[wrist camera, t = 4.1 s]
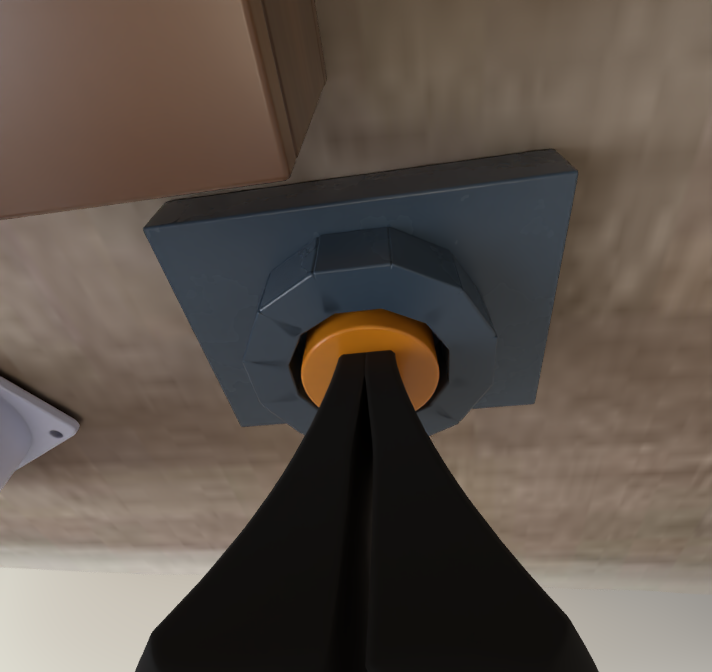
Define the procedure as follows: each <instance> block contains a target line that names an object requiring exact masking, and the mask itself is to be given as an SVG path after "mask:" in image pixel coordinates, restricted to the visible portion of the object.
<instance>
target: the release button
mask: <svg viewBox="0 0 712 672" xmlns="http://www.w3.org/2000/svg"><path fill="white" fill-rule="evenodd" d="M385 350H391V351H393V352H394V353H395V356H396V362H397V366H398V370H399V373H400V376H401V379H402V381H403V384H404V387H405V389H406V392H407V394H408V396H409V398H410V401H411V403H412V405H413V407H414V409H415V411H416V410H418V409H419V408H421V407H422V406H423V405H424V404H425V403H426V402H427V401H428V400H429V399H430V398H431V396H432V395H433V393H434V392H435V389H436V387H437V385H438V381H439V373H440V372H439V364H438V359H437V353H436V348H435V343H434V338H433V332H432V330H431V329H430V328H429V327H428V325H427V324H426V323H423V322H420V321H417V320H414V319H411V318H408V317H405V316H402V315H399V314H396V313H393V312H390V311H388V310H385V309H375V310H365V311H356V312H346V313H337V314H334V315H332V316H331V317H329V318H327V319H326V320H324V321H323V322H321V323H319V324H318V325H316V326H315V327H313V328H312V329H310V330H308V331H307V336H306V342H305V349H304V355H303V361H302V367H301V380H302V384H303V386H304V389H305V391H306V393H307V395H308V396H309V398H310V399H311V400H312V401H313V402H314V403H315V404H316V405H317V406H318V407H320V404H321V402H322V400H323V398H324V396H325V393H326V391H327V389H328V386H329V384H330V381H331V379H332V376H333V374H334V371H335V368H336V365H337V362H338V358H339V357H340V356H341V355H343V354H353V353H364V352H374V351H385Z"/></svg>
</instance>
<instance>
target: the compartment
mask: <svg viewBox="0 0 712 672" xmlns="http://www.w3.org/2000/svg"><path fill="white" fill-rule="evenodd" d="M261 4H262V8H263V13H264V17H265V22H266V26H267V31H268V35H269V40H270V44H271V49H272V53H273V57H274V62H275V66H276V71H277V75H278V80H279V84H280V89H281V93H282V98H283V102H284V107H285V111H286V115H287V120H288V124H289V129H290V133H291V138H292V142H293V147H294V151H295V156H296V158H297V157H298V154H299V152H300V149H301V146H302V144H303V141H304V138H305V135H306V133H307V130H308V127H309V125H310V122H311V119H312V117H313V114H314V111H315V108H316V106H317V103H318V100H319V98H320V95H321V92H322V90H323V87H324V85H325V83H326V81H327V76H326V69H325V63H324V57H323V51H322V44H321V38H320V32H319V26H318V20H317V13H316V7H315V1H314V0H261Z"/></svg>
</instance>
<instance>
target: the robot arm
mask: <svg viewBox="0 0 712 672" xmlns="http://www.w3.org/2000/svg"><path fill="white" fill-rule="evenodd" d="M79 428H80V425H79V423H78V422H77V421H76V420H75V419H74V418H72V417H70V416H69V415H67V414H65V413H63V412H62V411H60V410H58V409H56V408H55V407H53V406H51V405H49V404H48V403H46V402H44V401H43V400H41V399H39V398H37V397H36V396H34V395H32V394H30V393H29V392H27V391H25V390H24V389H22V388H20V387H18V386H17V385H15V384H13V383H11V382H10V381H8V380H6V379H5V378H3V377H1V376H0V491H1V490H2V488H3V487H4V486H5V484H6V483H7V481H8V480H9V479H10V477H11V476H12V474H13V473H14V471H16V470H18V469H19V468H21V467H23V466H24V465H26V464H27V463H29V462H31V461H32V460H34V459H36V458H37V457H39V456H41V455H42V454H44V453H46V452H47V451H49V450H51V449H52V448H54V447H56V446H57V445H59V444H61V443H62V442H64V441H66V440H67V439H69V438H71V437H72V436H74V435H75V434H76V432H77V431H78V429H79ZM135 672H598V669H597V667H596V665H595V663H594V661H593V659H592V657H591V656H590V654H589V652H588V650H587V648H586V646H585V645H584V643H583V641H582V639H581V638H580V636H579V634H578V633H577V631H576V629H575V627H574V626H573V624H572V622H571V621H570V619H569V618H568V616H567V615H566V614H565V613H564V612H563V611H562V610H561V609H560V607H559V606H558V605H557V604H556V603H555V602H554V601H553V600H552V599H551V598H550V597H549V596H548V595H547V594H546V592H545V591H544V590H543V589H542V588H541V587H540V586H539V584H538V583H537V582H536V581H535V580H534V579H533V578H532V577H531V575H530V574H529V573H528V572H527V571H526V570H525V569H524V567H523V566H522V565H521V564H520V563H519V561H518V560H517V559H516V558H515V557H514V556H513V554H512V553H511V552H510V551H509V550H508V548H507V547H506V546H505V545H504V544H503V542H502V541H501V540H500V539H499V537H498V536H497V535H496V533H495V532H494V531H493V530H492V528H491V527H490V526H489V524H488V523H487V522H486V521H485V519H484V518H483V517H482V515H481V514H480V513H479V512H478V510H477V509H476V508H475V506H474V505H473V504H472V502H471V501H470V500H469V498H468V497H467V495H466V494H465V493H464V491H463V490H462V488H461V487H460V485H459V484H458V483H457V481H456V480H455V478H454V477H453V475H452V474H451V472H450V471H449V469H448V467H447V466H446V464H445V463H444V461H443V460H442V458H441V456H440V455H439V453H438V451H437V450H436V448H435V446H434V445H433V443H432V441H431V439H430V438H429V436H428V434H427V432H426V431H425V429H424V427H423V425H422V423H421V421H420V419H419V417H418V415H417V413H416V411H415V409H414V407H413V405H412V403H411V401H410V398H409V396H408V394H407V392H406V389H405V387H404V384H403V381H402V379H401V376H400V373H399V370H398V366H397V362H396V356H395V353H394V352H393V351H391V350H385V351H374V352H364V353H353V354H343V355H341V356H340V357H339V358H338V362H337V365H336V368H335V371H334V374H333V376H332V379H331V381H330V384H329V386H328V389H327V391H326V393H325V396H324V398H323V400H322V402H321V404H320V407H319V409H318V411H317V413H316V415H315V417H314V419H313V421H312V423H311V425H310V427H309V429H308V431H307V433H306V435H305V436H304V438H303V440H302V442H301V444H300V445H299V447H298V449H297V451H296V453H295V454H294V456H293V458H292V460H291V461H290V463H289V464H288V466H287V468H286V469H285V471H284V473H283V474H282V476H281V477H280V479H279V480H278V482H277V483H276V485H275V486H274V488H273V489H272V491H271V492H270V494H269V495H268V497H267V498H266V499H265V501H264V502H263V503H262V505H261V506H260V508H259V509H258V510H257V512H256V513H255V515H254V516H253V517H252V519H251V520H250V521H249V523H248V524H247V525H246V527H245V528H244V529H243V530H242V532H241V533H240V534H239V536H238V537H237V538H236V539H235V540H234V542H233V543H232V544H231V545H230V546H229V548H228V549H227V550H226V551H225V552H224V554H223V555H222V556H221V557H220V558H219V560H218V561H217V562H216V563H215V564H214V566H213V567H212V568H211V569H210V570H209V572H208V573H207V574H206V575H205V576H204V577H203V578H202V579H201V581H200V582H199V583H198V584H197V585H196V586H195V587H194V588H193V589H192V590H191V591H190V592H189V594H188V595H187V596H186V597H185V598H184V599H183V600H182V601H181V602H180V603H179V604H178V605H177V606H176V607H175V608H174V609H173V611H172V612H171V613H170V614H169V615H168V616H167V617H166V618H165V619H164V620H163V621H162V622H161V623H160V624H159V625H158V626H157V627H156V628H155V630H154V631H153V632H152V633H151V636H150V638H149V641H148V642H147V645H146V647H145V650H144V652H143V655H142V657H141V659H140V661H139V663H138V666H137V668H136V671H135Z"/></svg>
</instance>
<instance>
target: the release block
mask: <svg viewBox="0 0 712 672" xmlns="http://www.w3.org/2000/svg"><path fill="white" fill-rule="evenodd" d="M577 178H578V170H577V169H575V168H574V167H573V166H572V165H571V164H570V163H569V162H568V161H567V160H566V159H565V158H563V157H562V156H561V155H560V154H559V153H558V152H557V151H556V150H554V149H548V150H541V151H533V152H526V153H519V154H511V155H504V156H497V157H490V158H482V159H475V160H468V161H460V162H453V163H446V164H439V165H431V166H424V167H417V168H409V169H402V170H395V171H388V172H380V173H373V174H366V175H358V176H351V177H344V178H336V179H329V180H322V181H315V182H307V183H300V184H293V185H285V186H278V187H271V188H264V189H256V190H249V191H242V192H234V193H227V194H220V195H212V196H205V197H198V198H191V199H183V200H176V201H169V202H166V203H165V204H164V205H163V206H162V207H161V208H160V209H159V210H158V212H157V213H156V214H155V215H154V216H153V217H152V218H151V219H150V221H149V222H148V223H147V224H146V225H145V226H144V227H143V231H144V233H145V235H146V237H147V239H148V241H149V243H150V245H151V247H152V249H153V251H154V253H155V255H156V257H157V259H158V261H159V263H160V265H161V267H162V269H163V271H164V273H165V275H166V277H167V279H168V281H169V283H170V285H171V287H172V289H173V291H174V293H175V295H176V297H177V299H178V301H179V303H180V305H181V307H182V309H183V311H184V313H185V315H186V317H187V319H188V321H189V323H190V325H191V327H192V329H193V331H194V333H195V335H196V337H197V339H198V341H199V343H200V345H201V347H202V349H203V351H204V353H205V355H206V357H207V359H208V361H209V363H210V365H211V367H212V369H213V371H214V373H215V375H216V377H217V379H218V381H219V383H220V385H221V387H222V389H223V391H224V393H225V395H226V397H227V399H228V401H229V403H230V405H231V407H232V409H233V411H234V413H235V415H236V417H237V419H238V421H239V423H240V425H241V427H249V426H261V425H274V424H288V425H290V426H291V427H292V428H294V429H295V430H297V431H298V432H299V433H301V434H304V435H306V433H307V431H308V429H309V427H310V425H311V423H312V421H313V419H314V417H315V415H316V413H317V411H318V409H319V407H318V406H317V405H316V404H315V403H314V402H313V401H312V400H311V399H310V398H309V396H308V395H307V393H306V391H305V389H304V386H303V384H302V380H301V367H302V361H303V355H304V349H305V342H306V336H307V331H308V330H310V329H312V328H313V327H315V326H316V325H318V324H319V323H321V322H323V321H324V320H326V319H327V318H329V317H331V316H332V315H334V314H337V313H346V312H356V311H365V310H375V309H385V310H388V311H390V312H393V313H396V314H399V315H402V316H405V317H408V318H411V319H414V320H417V321H420V322H423V323H426V324H427V325H428V327H429V328H430V329H431V330H432V332H433V338H434V343H435V348H436V353H437V359H438V364H439V372H440V373H439V381H438V385H437V387H436V389H435V392H434V393H433V395H432V396H431V398H430V399H429V400H428V401H427V402H426V403H425V404H424V405H423V406H422V407H421V408H419V409H418V410H416V413H417V415H418V417H419V419H420V421H421V423H422V425H423V427H424V429H425V431H426V432H427V434H428V436H431V435H433V434H435V433H438V432H440V431H442V430H445V429H447V428H449V427H452V426H454V425H456V424H458V423H459V422H460V421H461V420H462V419H463V418H464V417H465V416H466V414H467V413H468V412H469V411H470V410H471V409H477V408H490V407H503V406H515V405H528V404H534V403H535V399H536V393H537V388H538V383H539V378H540V372H541V367H542V362H543V357H544V351H545V346H546V341H547V336H548V330H549V325H550V320H551V315H552V309H553V304H554V299H555V294H556V288H557V283H558V278H559V273H560V267H561V262H562V257H563V252H564V246H565V241H566V236H567V231H568V225H569V220H570V215H571V210H572V205H573V199H574V194H575V189H576V184H577Z"/></svg>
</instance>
